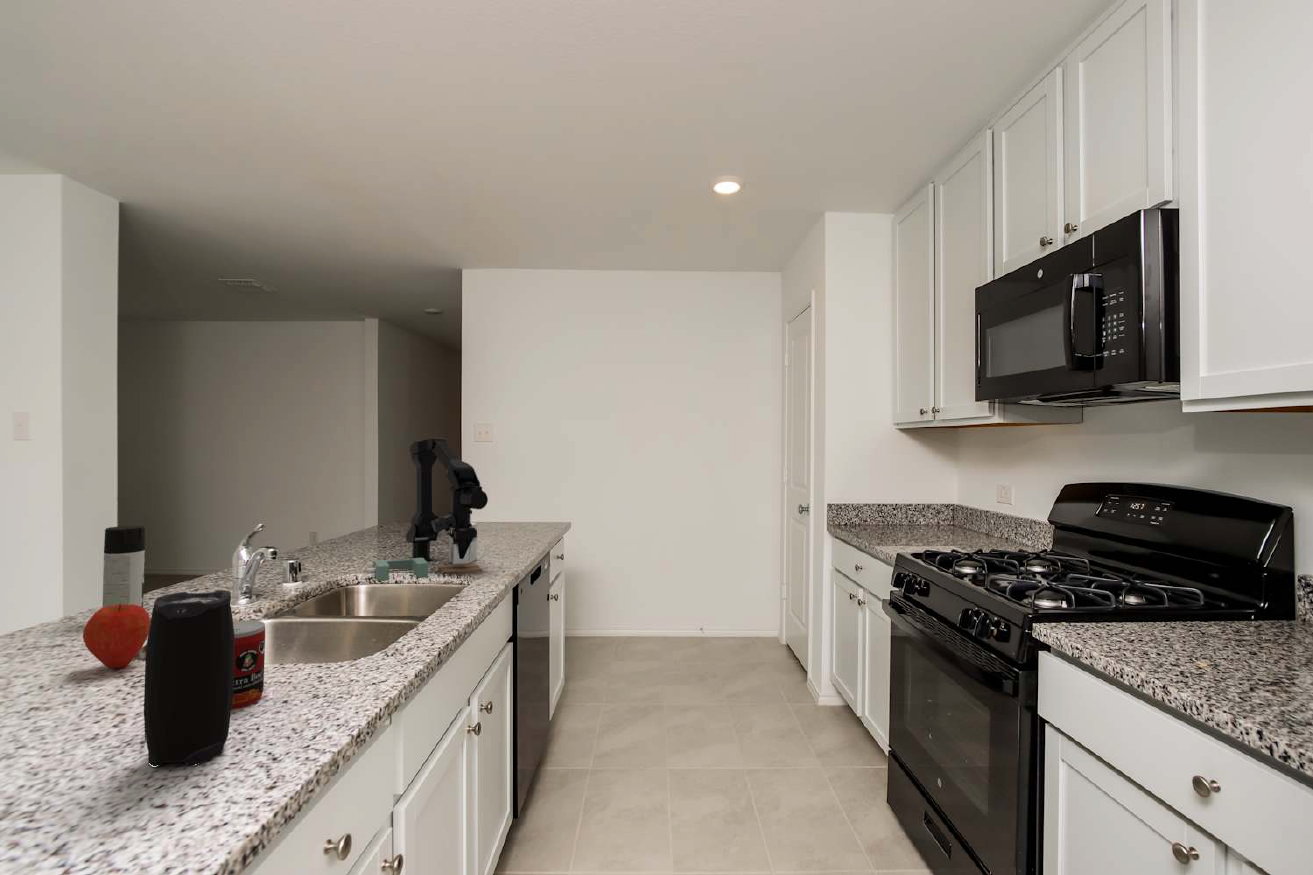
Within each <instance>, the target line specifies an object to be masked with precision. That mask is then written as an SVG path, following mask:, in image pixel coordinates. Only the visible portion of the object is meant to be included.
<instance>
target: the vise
mask: <svg viewBox="0 0 1313 875" xmlns="http://www.w3.org/2000/svg"><path fill="white" fill-rule="evenodd" d="M389 569H412V570H413V571H414V573H415V575H416V576H415V575H414V576H415V577H416V578H417V579H418V578H419V579H421V578H427V577H426V576H428V573H429V562H428V561H426V560H425V559H424V558H412V559H410V558H405V559H404V558H403V559H402V558H401V559H390V560H389V559H387V560H386V559H381V560H374V561H373V562H372V567H370V568H369V567H368V568H366V569H365V572H366V573H365V574H366V575H372V574H373V575H374V573H375V575H374V576H376V577H375V579H376V581H377V582H381V581H389V580H390V571H389ZM412 570H411V571H412ZM414 573H413V574H414ZM428 577H429V576H428Z"/></svg>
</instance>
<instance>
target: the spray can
mask: <svg viewBox="0 0 1313 875" xmlns="http://www.w3.org/2000/svg"><path fill="white" fill-rule="evenodd" d="M103 544H104V545H103V573H102V576H103V580H102V608H104V607H110V606H118V605H120V604H121V605H126V604H128V605H138V606H141V607H143V608H144V604H145V603H144V602H145V601H144V597H145V596H144V595H145V594H144V592H145V589H144V588H145V562H146V561H145V559H146V557H145V555H146V526H144V525H124V526H123V525H121V526H110V527H107V528H105V530H104V543H103Z"/></svg>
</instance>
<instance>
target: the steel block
mask: <svg viewBox="0 0 1313 875" xmlns="http://www.w3.org/2000/svg"><path fill="white" fill-rule="evenodd" d="M451 562H452V563H451V564H466V563H469V548H468V550H467V552H466V554H465V556H464V558H463V559H460V558H459V552H458V545H457V542H451Z"/></svg>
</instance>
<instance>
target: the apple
mask: <svg viewBox="0 0 1313 875" xmlns="http://www.w3.org/2000/svg"><path fill="white" fill-rule="evenodd" d="M150 622H151V618H150V615H149V612H148V611H147V609H145V608H144V606H143V607H141V606H138V605H128V604H126V605H121V604H120V605H118V606H110V607H104V608H100V609H98V610H97V611H95V612H94V613H93V614H92V616H91V617H90V618H89V619H88V620H87V623H86V625H85V626H84V628H83V634H82V639H83V642H84V645H85V647H86V648H87V650H88V651H89V652H90V653H91V654H92V656H94V657H95V658H96V659H97V661H100V663H101V664H102V665H103V666H105V667H106V668H110V669H111V668H112V669H121V668H127V667H128V666H129V664H131V662H132V661H133V660H134V659H135V657H136V656H137V655H139V652H140V651H141V650H142V649H143V646H144V644H145V643H146V642H147V640H148V634H149V628H150Z"/></svg>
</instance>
